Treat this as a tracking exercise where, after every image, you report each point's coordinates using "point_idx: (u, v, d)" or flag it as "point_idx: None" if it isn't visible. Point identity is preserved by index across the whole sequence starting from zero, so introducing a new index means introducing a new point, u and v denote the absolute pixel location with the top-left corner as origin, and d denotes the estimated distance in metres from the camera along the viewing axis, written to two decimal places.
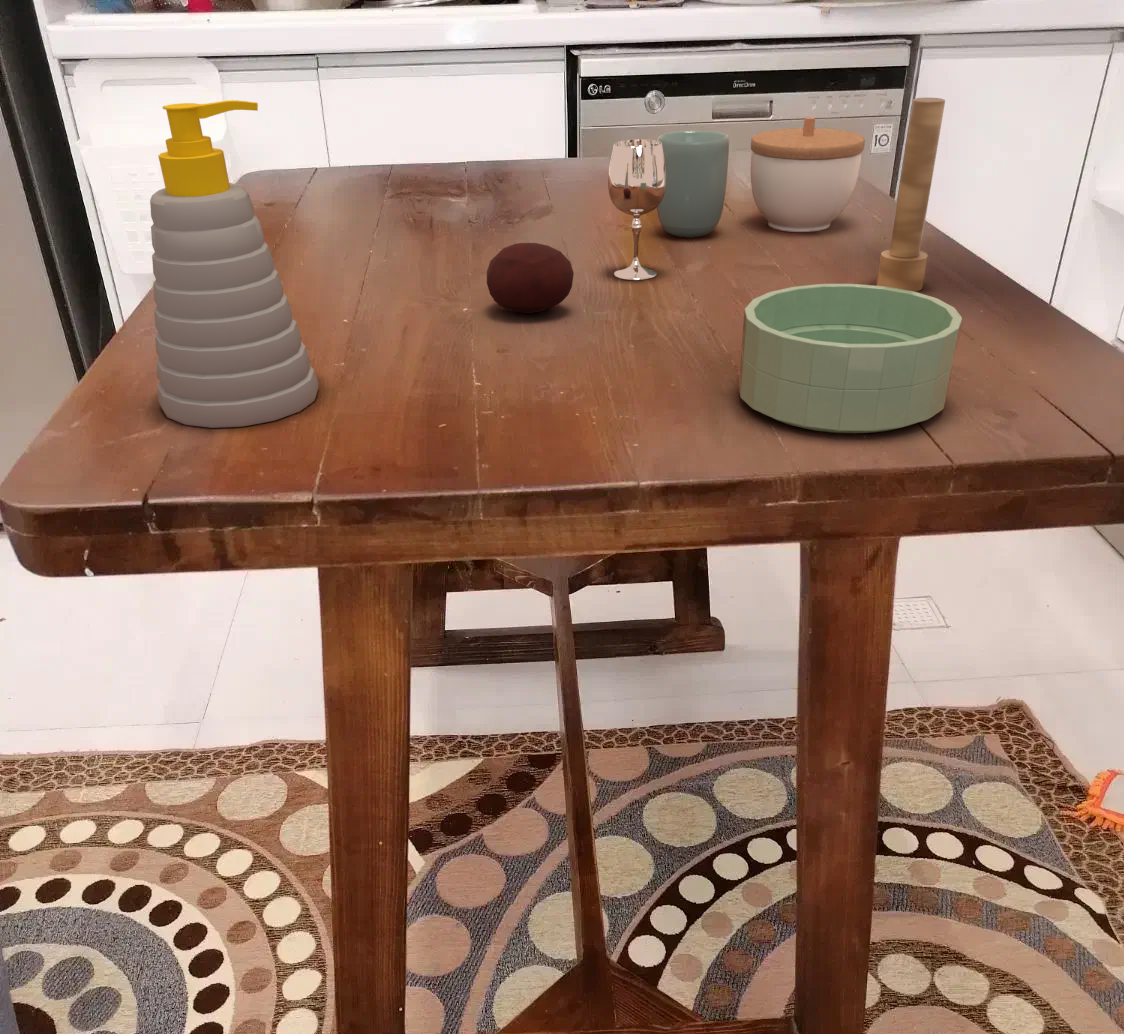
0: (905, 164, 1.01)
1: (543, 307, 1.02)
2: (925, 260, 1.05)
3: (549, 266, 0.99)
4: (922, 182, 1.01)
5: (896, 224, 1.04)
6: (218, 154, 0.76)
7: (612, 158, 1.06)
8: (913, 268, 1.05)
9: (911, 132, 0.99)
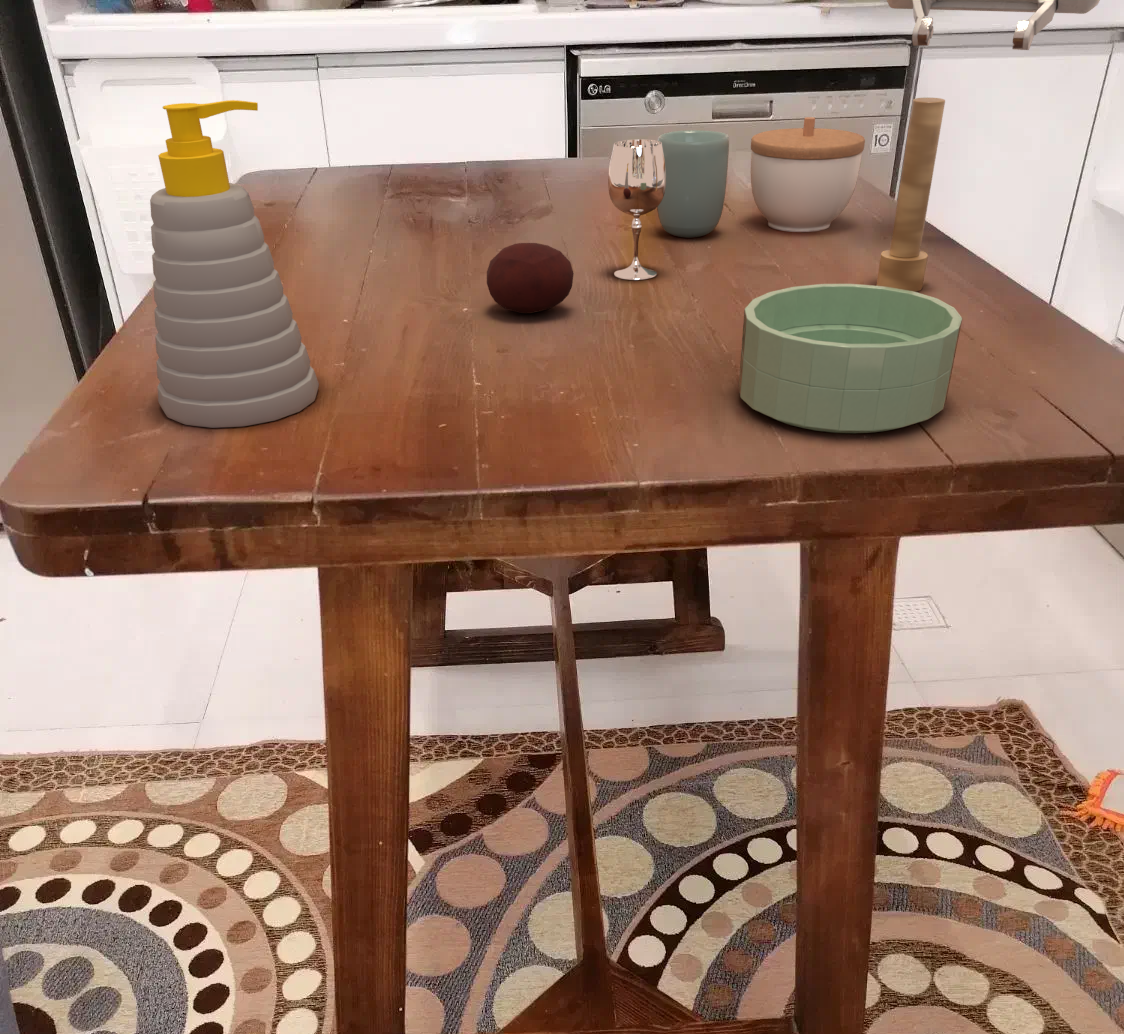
0: (905, 164, 1.01)
1: (543, 307, 1.02)
2: (925, 260, 1.05)
3: (549, 266, 0.99)
4: (922, 182, 1.01)
5: (896, 224, 1.04)
6: (218, 154, 0.76)
7: (612, 158, 1.06)
8: (913, 268, 1.05)
9: (911, 132, 0.99)
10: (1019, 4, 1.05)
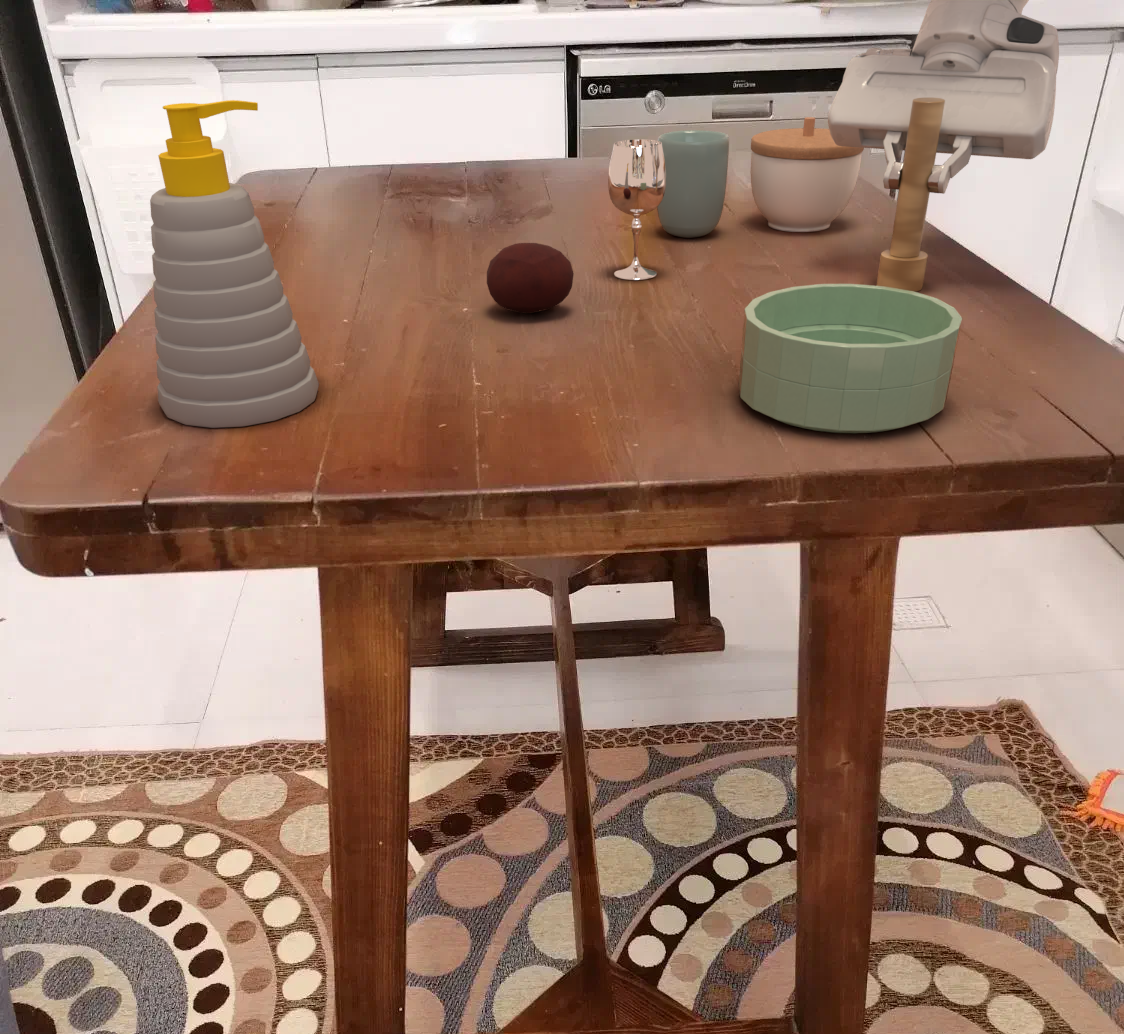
0: (905, 164, 1.01)
1: (543, 307, 1.02)
2: (925, 260, 1.05)
3: (549, 266, 0.99)
4: (921, 182, 1.01)
5: (896, 224, 1.04)
6: (218, 154, 0.76)
7: (612, 158, 1.06)
8: (913, 268, 1.05)
9: (911, 132, 0.99)
10: None
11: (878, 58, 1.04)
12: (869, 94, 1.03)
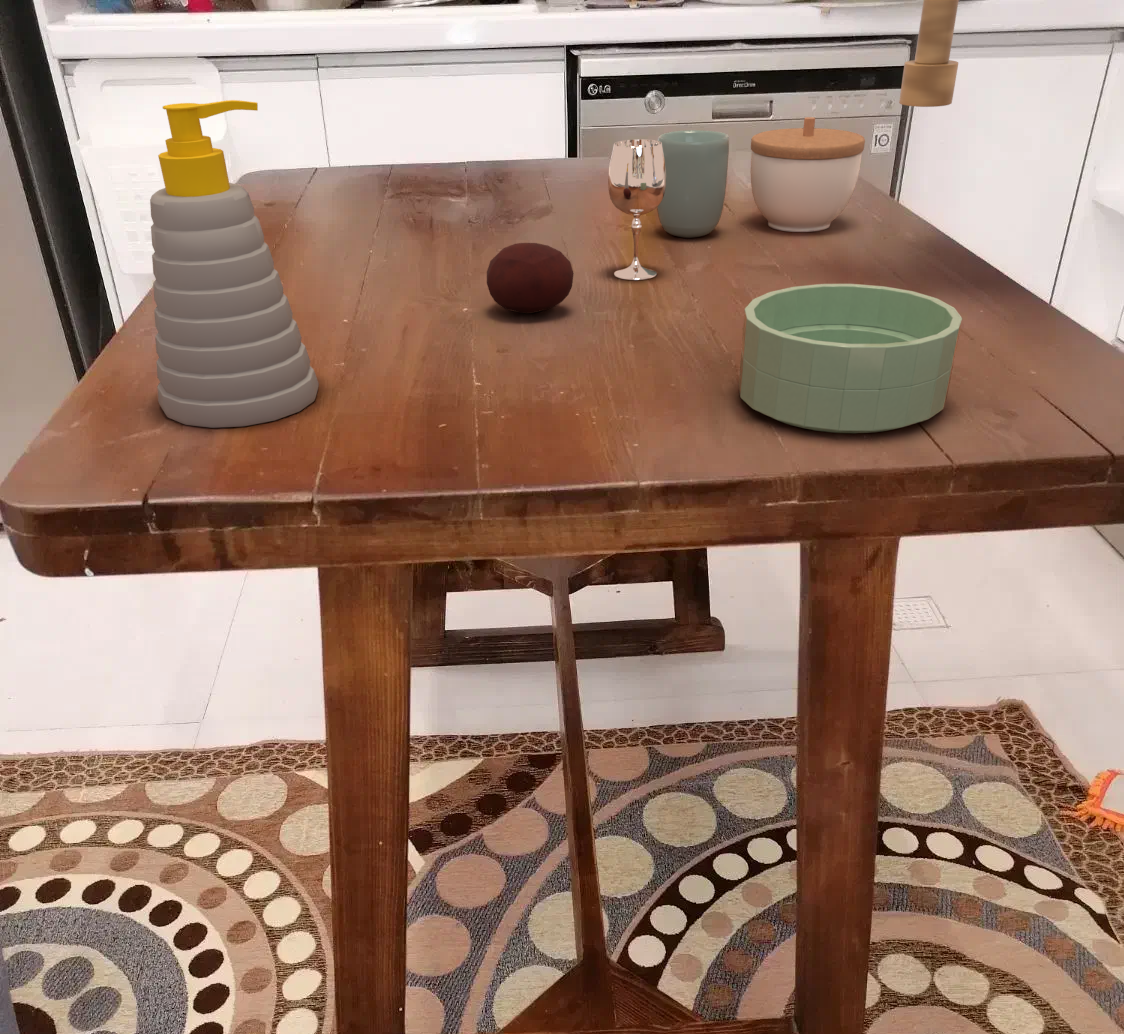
0: None
1: (543, 307, 1.02)
2: (955, 67, 0.92)
3: (549, 266, 0.99)
4: None
5: (922, 23, 0.91)
6: (218, 154, 0.76)
7: (612, 158, 1.06)
8: (942, 76, 0.92)
9: None
10: None
11: None
12: None
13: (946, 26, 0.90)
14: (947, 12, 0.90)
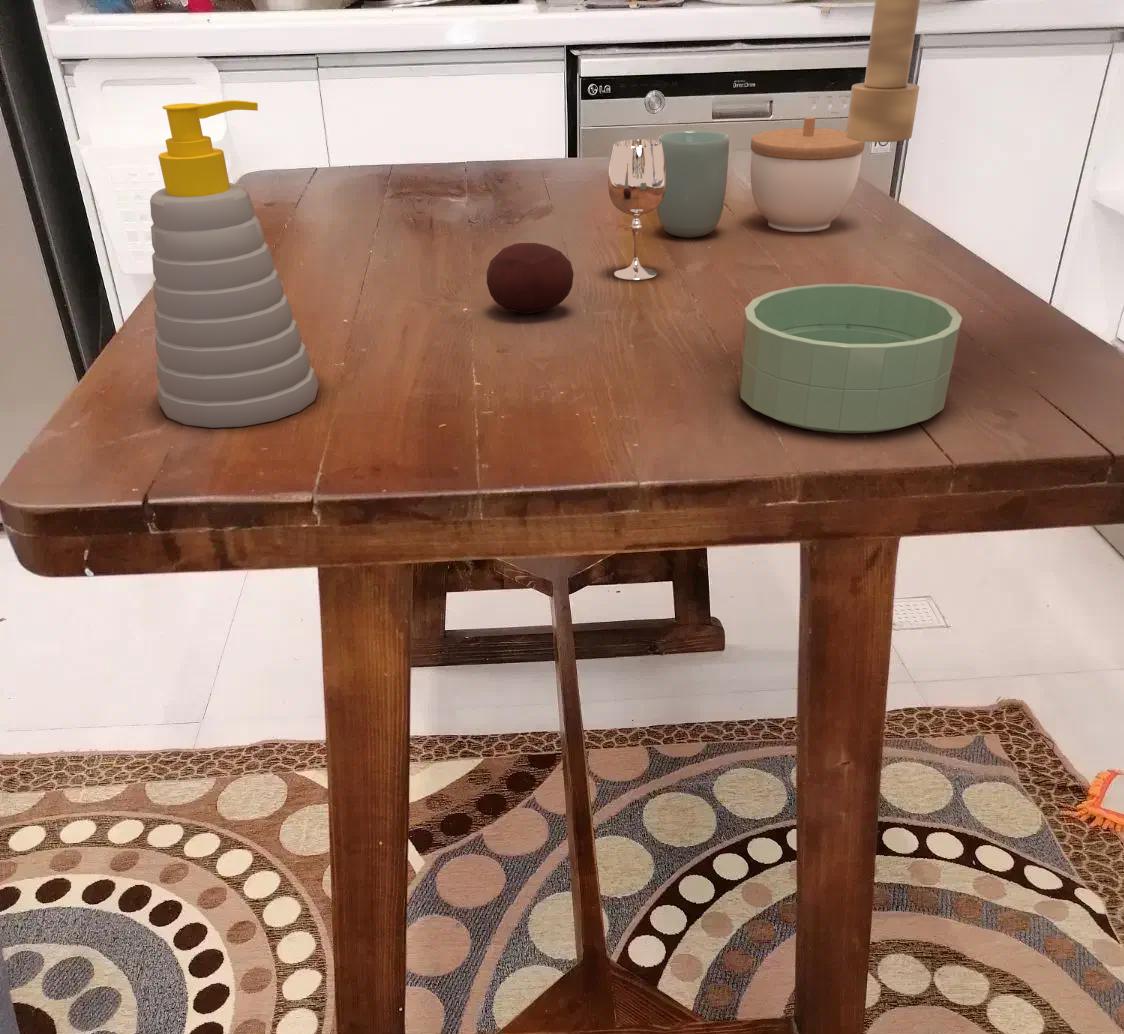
0: None
1: (543, 307, 1.02)
2: (915, 92, 0.73)
3: (549, 266, 0.99)
4: None
5: (873, 37, 0.71)
6: (218, 154, 0.76)
7: (612, 158, 1.06)
8: (899, 103, 0.72)
9: None
10: None
11: None
12: None
13: (903, 40, 0.71)
14: (904, 23, 0.70)
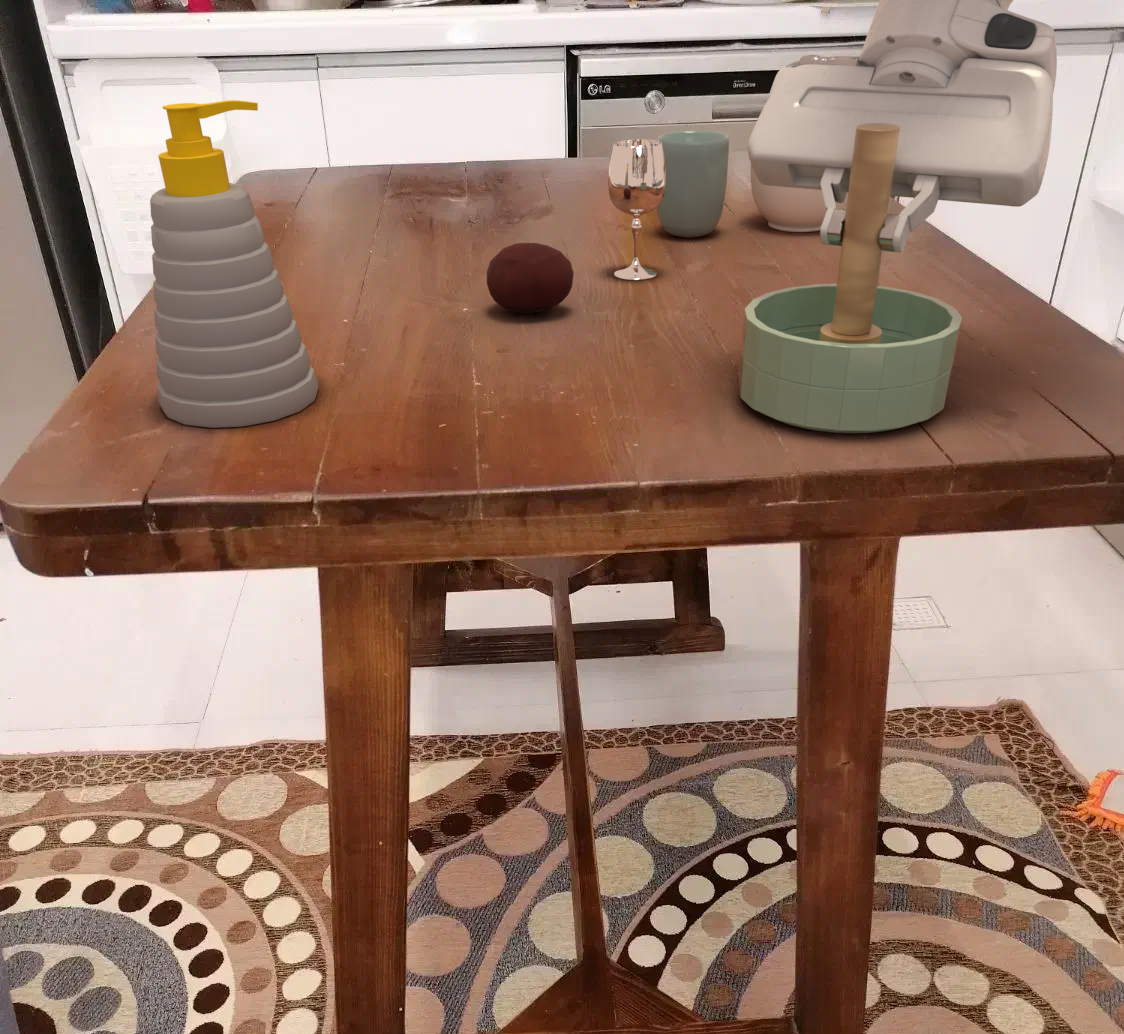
0: (848, 213, 0.75)
1: (543, 307, 1.02)
2: (878, 339, 0.79)
3: (549, 266, 0.99)
4: (870, 238, 0.75)
5: (838, 291, 0.78)
6: (218, 154, 0.76)
7: (612, 158, 1.06)
8: None
9: (855, 170, 0.73)
10: None
11: (814, 69, 0.77)
12: (801, 118, 0.77)
13: (866, 297, 0.77)
14: (866, 282, 0.76)
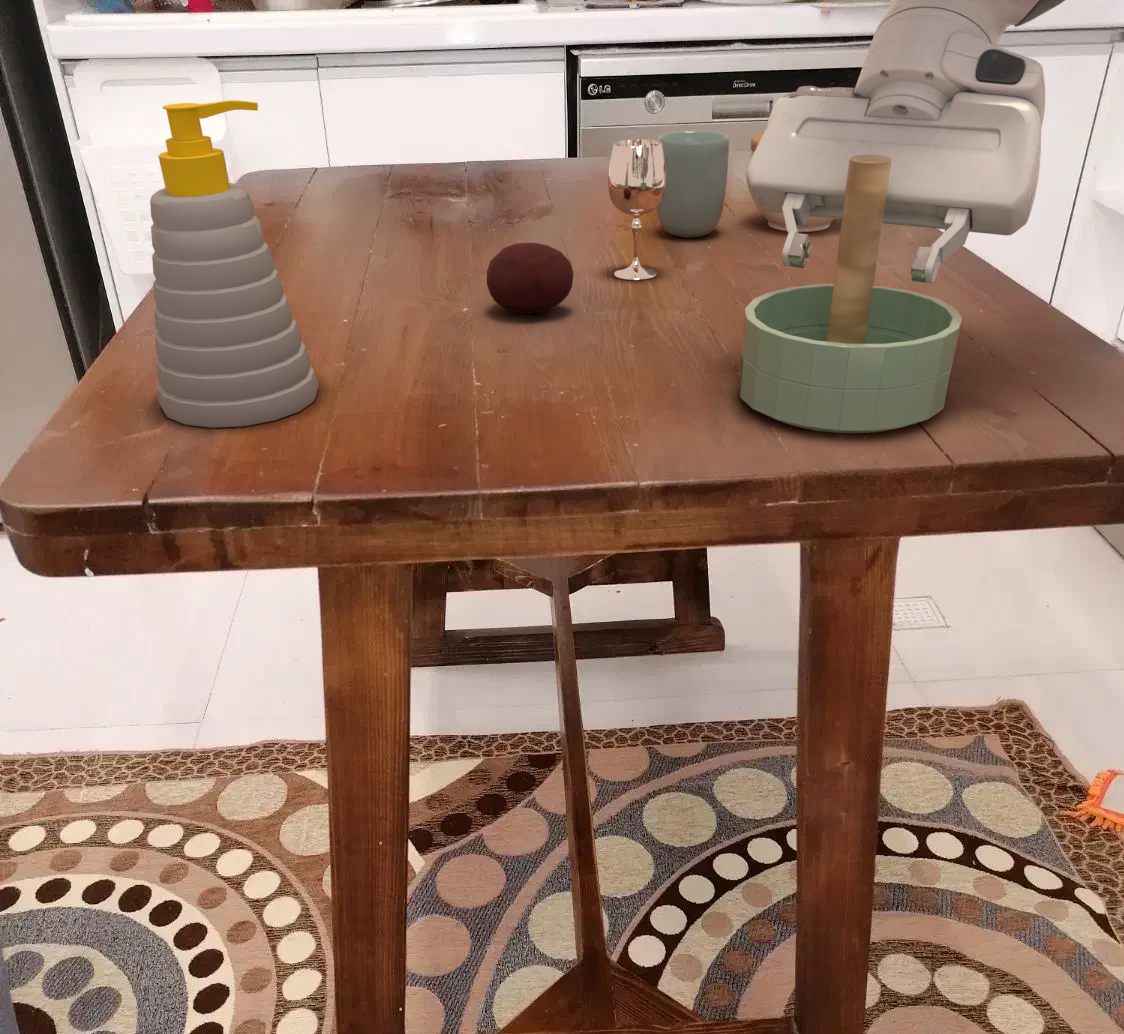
0: (841, 241, 0.77)
1: (543, 307, 1.02)
2: None
3: (549, 266, 0.99)
4: (863, 265, 0.77)
5: (832, 316, 0.80)
6: (218, 154, 0.76)
7: (612, 158, 1.06)
8: None
9: (848, 200, 0.75)
10: (923, 218, 0.78)
11: (810, 100, 0.80)
12: (798, 148, 0.79)
13: (858, 321, 0.79)
14: (859, 307, 0.79)
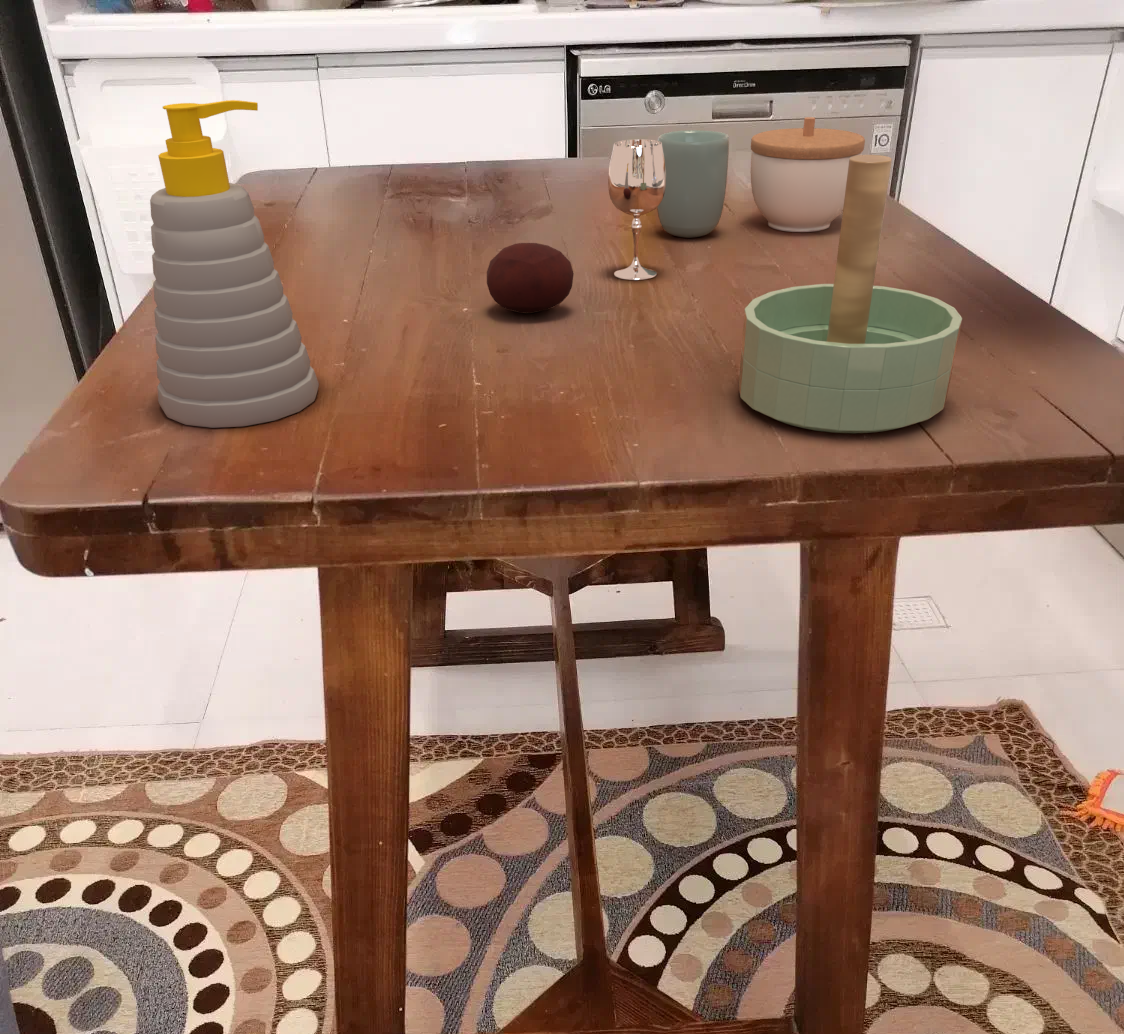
0: (841, 241, 0.77)
1: (543, 307, 1.02)
2: None
3: (549, 266, 0.99)
4: (863, 265, 0.77)
5: (832, 316, 0.80)
6: (218, 154, 0.76)
7: (612, 158, 1.06)
8: None
9: (848, 200, 0.75)
10: None
11: None
12: None
13: (858, 321, 0.79)
14: (859, 307, 0.79)
